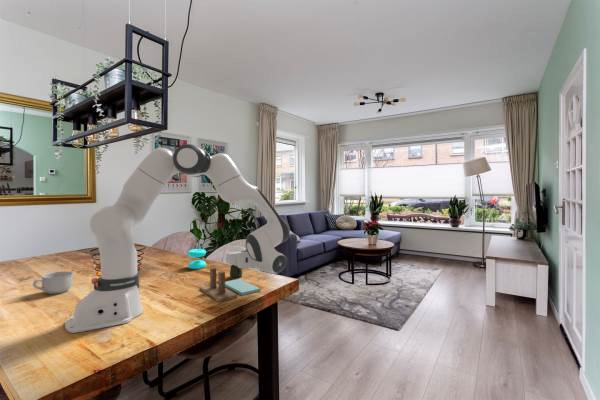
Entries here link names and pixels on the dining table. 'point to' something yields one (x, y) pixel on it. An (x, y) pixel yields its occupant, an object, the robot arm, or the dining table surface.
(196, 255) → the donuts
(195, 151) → the robot arm
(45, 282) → the teacup
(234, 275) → the character mug
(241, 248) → the rail
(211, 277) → the stand
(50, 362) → the dining table surface
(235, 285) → the board
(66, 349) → the dining table surface
